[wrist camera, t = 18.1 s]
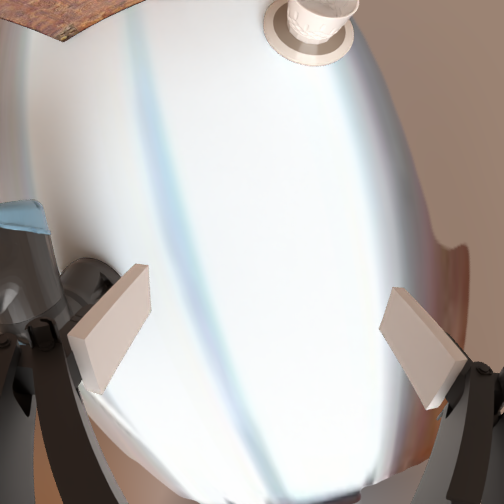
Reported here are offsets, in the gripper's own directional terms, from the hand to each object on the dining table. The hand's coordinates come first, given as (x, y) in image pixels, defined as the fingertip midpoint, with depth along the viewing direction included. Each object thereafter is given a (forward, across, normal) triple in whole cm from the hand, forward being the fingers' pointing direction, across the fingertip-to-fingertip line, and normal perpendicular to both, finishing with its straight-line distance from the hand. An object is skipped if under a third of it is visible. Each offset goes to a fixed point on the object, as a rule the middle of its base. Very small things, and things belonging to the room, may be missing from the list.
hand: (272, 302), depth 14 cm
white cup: (+25, -4, -28) cm, 38 cm away
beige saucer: (+27, -4, -28) cm, 39 cm away
